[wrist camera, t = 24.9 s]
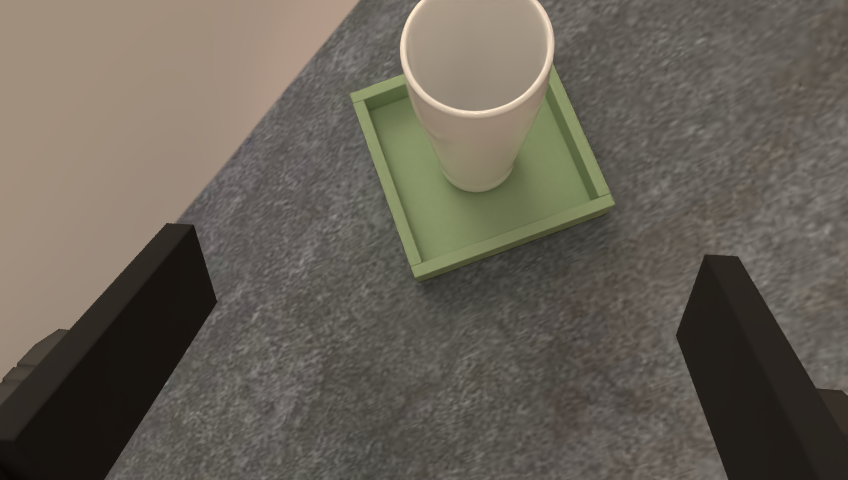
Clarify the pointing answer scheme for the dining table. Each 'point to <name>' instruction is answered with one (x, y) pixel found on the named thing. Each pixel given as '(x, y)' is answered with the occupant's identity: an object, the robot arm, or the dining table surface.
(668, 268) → the dining table surface
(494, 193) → the green shallow square tray
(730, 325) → the robot arm
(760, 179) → the dining table surface
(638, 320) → the dining table surface
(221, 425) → the dining table surface
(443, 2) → the drinking glass
